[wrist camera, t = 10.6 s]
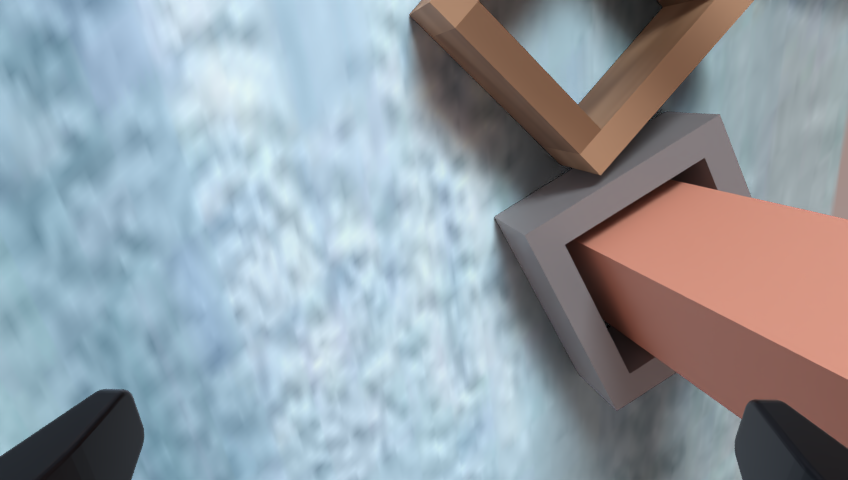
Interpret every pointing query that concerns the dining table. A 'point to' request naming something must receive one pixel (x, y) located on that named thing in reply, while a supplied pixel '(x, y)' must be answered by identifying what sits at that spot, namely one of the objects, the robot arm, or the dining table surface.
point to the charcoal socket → (590, 205)
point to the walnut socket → (611, 96)
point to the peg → (729, 295)
